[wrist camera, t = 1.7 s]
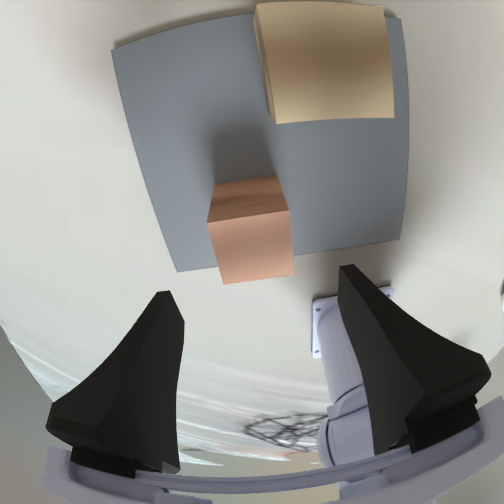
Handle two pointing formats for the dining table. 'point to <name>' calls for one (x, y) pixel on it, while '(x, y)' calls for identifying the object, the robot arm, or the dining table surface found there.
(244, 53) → the slate board
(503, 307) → the flower in vase
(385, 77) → the oak block
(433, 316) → the dining table surface
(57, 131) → the dining table surface
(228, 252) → the terracotta block
